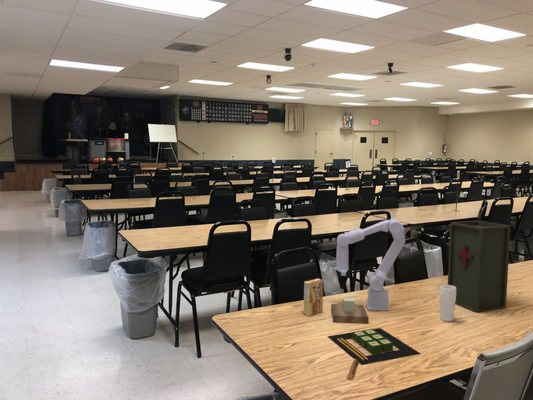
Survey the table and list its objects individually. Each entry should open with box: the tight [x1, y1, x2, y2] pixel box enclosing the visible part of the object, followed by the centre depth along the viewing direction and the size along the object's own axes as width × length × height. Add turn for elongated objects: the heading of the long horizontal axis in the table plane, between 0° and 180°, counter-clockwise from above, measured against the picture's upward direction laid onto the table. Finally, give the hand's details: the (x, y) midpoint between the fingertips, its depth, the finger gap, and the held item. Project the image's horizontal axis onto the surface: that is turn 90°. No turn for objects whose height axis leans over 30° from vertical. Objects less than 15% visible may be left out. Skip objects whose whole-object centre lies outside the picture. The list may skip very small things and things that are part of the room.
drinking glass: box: [439, 284, 456, 322], centre depth 187 cm, size 7×7×15 cm
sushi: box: [327, 327, 421, 366], centre depth 162 cm, size 25×25×4 cm
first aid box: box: [447, 220, 511, 314], centre depth 206 cm, size 18×18×40 cm
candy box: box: [303, 278, 324, 317], centre depth 195 cm, size 9×4×15 cm, turn 129°
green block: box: [343, 297, 355, 312], centre depth 191 cm, size 4×4×5 cm
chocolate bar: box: [346, 358, 360, 381], centre depth 142 cm, size 3×12×2 cm, turn 159°
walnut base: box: [330, 303, 369, 324], centre depth 191 cm, size 15×15×3 cm
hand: (341, 286), depth 206 cm, fingers open, 7 cm apart
